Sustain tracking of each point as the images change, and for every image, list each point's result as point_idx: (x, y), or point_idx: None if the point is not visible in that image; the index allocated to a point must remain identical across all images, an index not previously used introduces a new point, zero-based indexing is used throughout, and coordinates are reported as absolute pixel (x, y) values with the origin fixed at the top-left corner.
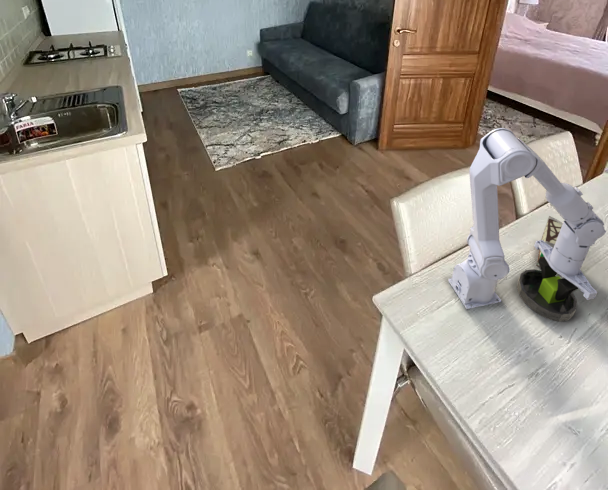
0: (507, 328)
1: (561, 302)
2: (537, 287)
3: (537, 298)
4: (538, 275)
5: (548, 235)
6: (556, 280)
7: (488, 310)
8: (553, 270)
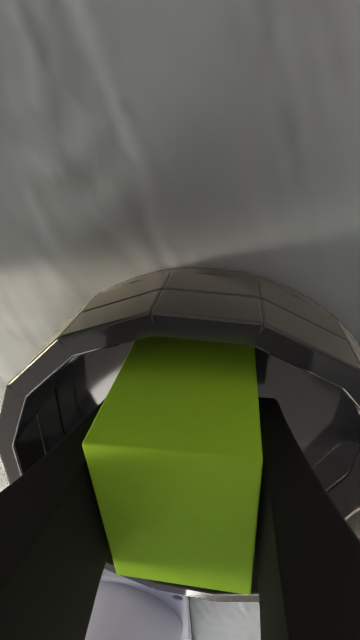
0: None
1: (261, 362)
2: None
3: None
4: (42, 396)
5: None
6: (144, 503)
7: (207, 617)
8: (40, 637)
